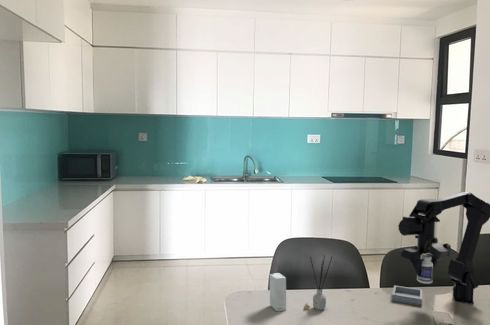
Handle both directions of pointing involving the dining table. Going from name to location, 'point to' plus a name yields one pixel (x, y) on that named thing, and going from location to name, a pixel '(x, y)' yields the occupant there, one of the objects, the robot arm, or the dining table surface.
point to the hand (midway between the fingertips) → (424, 274)
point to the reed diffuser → (319, 292)
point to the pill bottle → (426, 270)
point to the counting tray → (407, 295)
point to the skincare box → (278, 292)
